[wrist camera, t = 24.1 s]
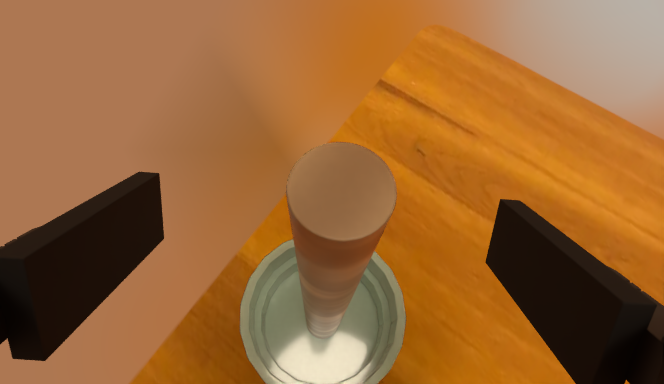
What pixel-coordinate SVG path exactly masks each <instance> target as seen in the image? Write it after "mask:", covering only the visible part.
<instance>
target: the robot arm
mask: <svg viewBox="0 0 664 384" xmlns="http://www.w3.org/2000/svg"><path fill="white" fill-rule="evenodd" d="M163 239H164V231H163V217H162V204H161V191H160V177H159V173H149V172H138V173H136V174H134V175H132V176H131V177H129V178H127V179H125V180H123V181H122V182H120V183H118V184H116V185H115V186H113V187H111V188H109V189H107V190H106V191H104V192H102V193H100V194H98V195H96V196H95V197H93V198H91V199H89V200H88V201H86V202H84V203H82V204H80V205H79V206H77V207H75V208H73V209H71V210H70V211H68V212H66V213H65V214H62V215H61V216H59V217H57V218H55V219H53V220H52V221H50V222H48V223H46V224H45V225H43V226H41V227H37V228H34V229H32V230H30V231H28V232H26V233H25V234H23V235H21V236H19V237H17V239H14V240H12V241H10V242H8V243H6V244H5V246H1V247H0V344H1V343H2V342H4V341H5V340H6V339H7V338H8V342H9V346H10V350H11V354H12V358H13V359H24V360H38V361H39V360H40V361H45V360H46V359H47V358H48V357H49V356H50V355H51V354H52V353H53V352H54V351H55V350H56V349H57V348H58V347H59V346H60V345H61V344H62V343H63V342H64V341H65V340H66V339H67V338H68V337H69V336H70V335H71V334H72V333H73V332H74V331H75V330H76V328H77V327H79V326H80V324H81V323H82V322H83V321H84V320H85V319H86V318H87V317H88V316H89V315H90V314H91V313H92V312H93V311H94V310H95V309H96V308H97V307H98V306H99V305H100V304H101V303H102V302H103V301H104V300H105V299H106V298H107V297H108V296H109V295H110V294H111V293H112V292H113V291H114V290H115V289H116V288H117V286H118V285H119V284H120V283H121V282H122V281H123V280H124V279H125V278H126V277H127V276H128V275H129V274H130V273H131V272H132V271H133V270H134V269H135V268H136V267H137V266H138V265H139V264H140V263H141V262H142V261H143V260H144V259H145V257H147V256H148V255H149V254H150V252H152V251H153V249H154V248H155V247H156V246H157V245H158V244H159V243H160V242H161V241H162V240H163ZM486 264H487V265H488V266H489V268H490V269H491V270H492V272H493V273H494V274H495V276H496V277H497V278H498V280H499V281H500V282H501V284H502V285H503V286H504V288H505V289H506V290H507V292H508V293H509V294H510V296H511V297H512V298H513V300H514V301H515V302H516V304H517V305H518V307H519V308H520V309H521V311H522V312H523V313H524V315H525V316H526V317H527V319H528V320H529V321H530V323H531V324H532V325H533V327H534V328H535V329H536V331H537V332H538V333H539V335H540V336H541V337H542V339H543V340H544V341H545V343H546V344H547V345H548V347H549V348H550V350H551V351H552V352H553V354H554V355H555V356H556V358H557V359H558V360H559V362H560V363H561V364H562V366H563V367H564V368H565V370H566V371H567V372H568V374H569V375H570V376H571V378H572V379H573V380H574V382H575V383H576V384H624V383H625V381H626V380H627V381H628V382H629V383H630V384H664V306H663V305H661V304H660V303H659V302H657V301H656V300H655V299H653V298H652V297H651V296H649V295H648V294H647V293H645V292H644V291H641V289H640V288H639V287H637V286H636V285H635V284H633V283H630V281H629V280H628V279H627V278H625V277H624V276H623V275H621V274H620V273H618V272H617V271H616V270H614V269H612V268H610V267H608V266H606V265H604V264H603V263H602V262H600V261H599V260H598V259H596V258H595V257H594V256H592V255H591V254H590V253H588V252H587V251H586V250H585V249H583V248H582V247H581V246H579V245H578V244H577V243H575V242H574V241H573V240H571V239H570V238H569V237H567V236H566V235H565V234H563V233H562V232H561V231H559V230H558V229H557V228H555V227H554V226H553V225H551V224H550V223H549V222H548V221H546V220H545V219H544V218H542V217H541V216H540V215H538V214H537V213H536V212H534V211H533V210H532V209H530V208H529V207H528V206H526V205H525V204H524V203H522V202H521V201H518V200H505V199H500V203H499V207H498V211H497V215H496V220H495V224H494V228H493V232H492V237H491V241H490V245H489V249H488V254H487V258H486Z"/></svg>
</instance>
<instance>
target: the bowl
mask: <svg viewBox="0 0 664 384" xmlns="http://www.w3.org/2000/svg"><path fill="white" fill-rule="evenodd" d="M405 324H406V314H405V307H404V300H403V294H402V291H401V289H400V287H399V284H398V282H397V280H396V278H395V276H394V274H393V272H392V270H391V268H390V267H389V266H388V265H387V264H386V263H385V262H384V261H383V260H382V259H381V257H380V256H379V255H378V254H377V253H376V252H375V251H374V253H373V255H372V257H371V259H370V261H369V263H368V265H367V267H366V270H365V272H364V274H363V276H362V278H361V280H360V282H359V284H358V286H357V289H356V291H355V293H354V295H353V297H352V299H351V301H350V303H349V305H348V308H347V310H346V312H345V314H344V316H343V318H342V320H341V322H340V324H339V327H338V329H337V331H336V332H335V333H334V334H333V335H332V336H331V337H329V338H326V339H319V338H316V337H314V336H313V335H312V334H311V333H310V332H309V330H308V328H307V324H306V317H305V311H304V304H303V298H302V292H301V285H300V279H299V272H298V266H297V259H296V253H295V247H294V240H293V239H292V240H289V241H287V242H285V243H283V244H281V245H280V246H279V247H277V248H276V249H275V250H273V251H272V252H271V253H269V254H268V255H267V256H265V258H264V259H263V260H262V261H261V263H260V264H259V266H258V267H257V268H256V270H255V271H254V272H253V274H252V275H251V277H250V279H249V281H248V283H247V286H246V289H245V292H244V295H243V298H242V301H241V306H240V333H241V337H242V340H243V344H244V347H245V351H246V354H247V357H248V359H249V361H250V362H251V364H252V365H253V367H254V368H255V369H256V371H257V372H258V374H259V375H260V377H261V378H262V380H263V381H264V382H265V383H267V384H377V383H378V382H379V381H380V380H381V379H382V378H383V377H384V376H385V375H386V374H387V373H388V372H389V371H390V370H391V368H392V366H393V364H394V362H395V360H396V358H397V356H398V353H399V351H400V349H401V347H402V344H403V337H404V331H405Z"/></svg>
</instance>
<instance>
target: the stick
mask: <svg viewBox="0 0 664 384" xmlns="http://www.w3.org/2000/svg"><path fill="white" fill-rule="evenodd" d="M286 194H287V202H288V208H289V215H290V221H291V227H292V234H293V240H294V247H295V253H296V259H297V266H298V272H299V279H300V285H301V292H302V298H303V304H304V311H305V317H306V324H307V328H308V330H309V332H310V333H311V334H312V335H313V336H314V337H316V338H319V339H326V338H329V337H331V336H332V335H333V334H334V333H335V332H336V331H337V329H338V327H339V324H340V322H341V320H342V318H343V316H344V314H345V312H346V310H347V308H348V305H349V303H350V301H351V299H352V297H353V295H354V293H355V291H356V289H357V286H358V284H359V282H360V280H361V278H362V276H363V274H364V272H365V270H366V267H367V265H368V263H369V261H370V259H371V257H372V255H373V253H374V251H375V248H376V246H377V244H378V242H379V240H380V238H381V236H382V234H383V232H384V229H385V227H386V225H387V223H388V221H389V219H390V217H391V215H392V213H393V210H394V207H395V204H396V198H397V190H396V183H395V180H394V177H393V175H392V172H391V171H390V169H389V167H388V166H387V165H386V163H385V162H384V161H383V160H382V159H381V158H380V157H379V156H378V155H377V154H375V153H374V152H372V151H371V150H369V149H367V148H365V147H363V146H360V145H357V144H352V143H346V142H334V143H327V144H323V145H321V146H318V147H315V148H313V149H312V150H310V151H308V152H307V153H305V154H304V155H303V156H302V157H301V158H300V159H299V160H298V161H297V162H296V164H295V165H294V166H293V168H292V170H291V172H290V174H289V177H288V180H287V186H286Z"/></svg>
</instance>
